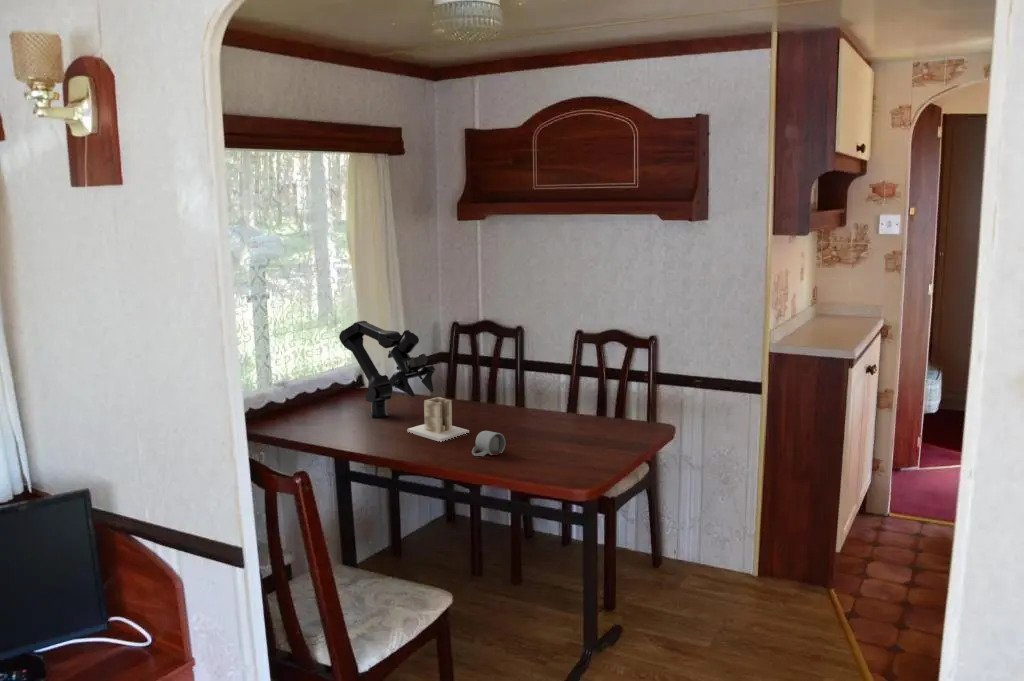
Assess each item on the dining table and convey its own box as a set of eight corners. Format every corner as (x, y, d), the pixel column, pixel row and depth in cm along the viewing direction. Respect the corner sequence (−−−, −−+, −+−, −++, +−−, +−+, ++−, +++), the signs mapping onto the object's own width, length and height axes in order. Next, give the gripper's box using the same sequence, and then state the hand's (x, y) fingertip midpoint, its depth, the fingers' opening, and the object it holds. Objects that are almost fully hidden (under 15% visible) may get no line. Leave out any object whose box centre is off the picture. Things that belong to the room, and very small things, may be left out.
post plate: (407, 432, 311) (406, 418, 310) (435, 424, 321) (435, 410, 320) (441, 442, 299) (440, 427, 298) (469, 433, 309) (469, 419, 308)
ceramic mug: (490, 447, 293) (489, 426, 291) (506, 453, 287) (505, 431, 285) (466, 455, 286) (465, 433, 284) (482, 460, 280) (481, 438, 278)
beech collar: (424, 429, 309) (424, 400, 307) (438, 425, 314) (438, 396, 312) (437, 433, 305) (437, 403, 303) (451, 429, 310) (451, 400, 308)
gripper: (393, 351, 306) (414, 386, 301) (432, 343, 319) (452, 377, 314) (380, 369, 312) (400, 403, 307) (418, 361, 326) (438, 394, 321)
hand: (423, 394), depth 312 cm, fingers open, 9 cm apart
